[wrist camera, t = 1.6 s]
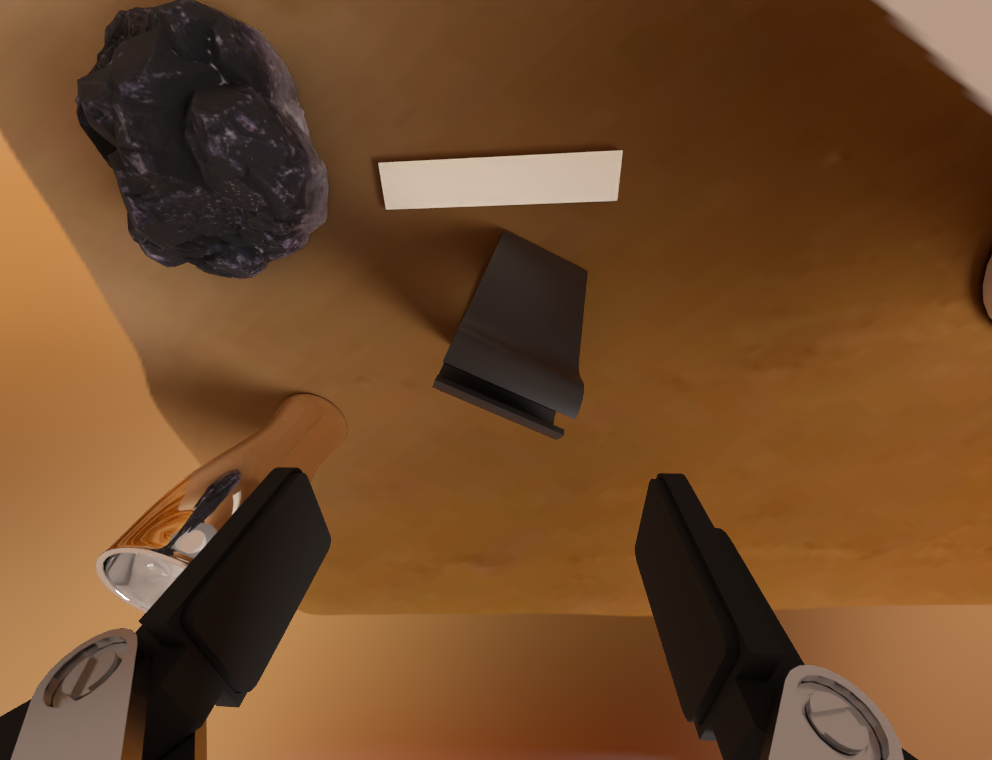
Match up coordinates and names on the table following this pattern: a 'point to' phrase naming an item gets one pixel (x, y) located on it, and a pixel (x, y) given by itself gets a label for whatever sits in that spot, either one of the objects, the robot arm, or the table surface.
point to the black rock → (203, 139)
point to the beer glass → (216, 498)
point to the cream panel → (502, 180)
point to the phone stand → (521, 339)
